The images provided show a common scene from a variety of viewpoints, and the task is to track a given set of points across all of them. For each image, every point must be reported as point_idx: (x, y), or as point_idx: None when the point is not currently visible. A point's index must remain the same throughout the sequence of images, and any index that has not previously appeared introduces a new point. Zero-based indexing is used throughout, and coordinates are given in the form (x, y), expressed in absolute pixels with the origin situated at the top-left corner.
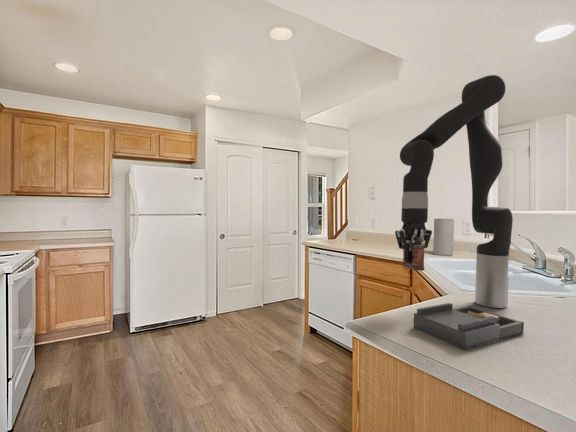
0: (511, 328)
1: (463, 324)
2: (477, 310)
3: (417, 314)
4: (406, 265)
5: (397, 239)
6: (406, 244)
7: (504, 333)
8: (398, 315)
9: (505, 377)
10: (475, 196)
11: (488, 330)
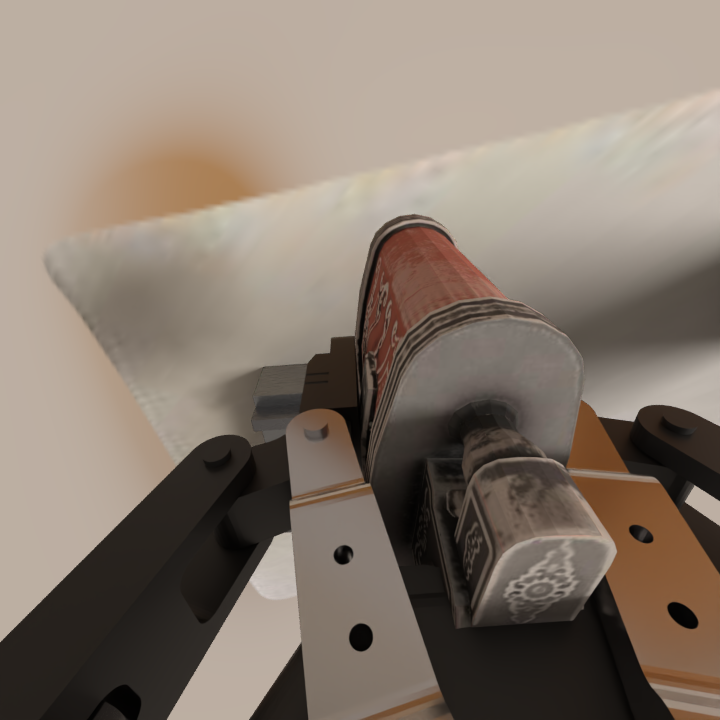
0: None
1: (290, 531)
2: None
3: (255, 409)
4: (359, 313)
5: (55, 606)
6: (232, 582)
7: None
8: (292, 250)
9: (275, 552)
10: None
11: None
